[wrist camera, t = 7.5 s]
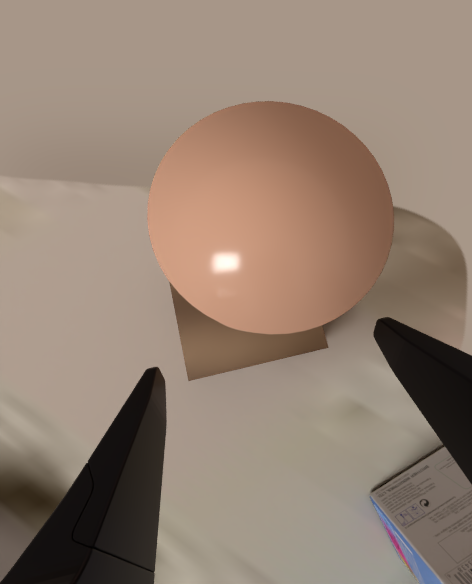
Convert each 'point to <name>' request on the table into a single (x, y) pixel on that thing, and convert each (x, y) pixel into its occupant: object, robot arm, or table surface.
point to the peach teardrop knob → (270, 217)
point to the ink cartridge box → (430, 519)
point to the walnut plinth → (233, 343)
